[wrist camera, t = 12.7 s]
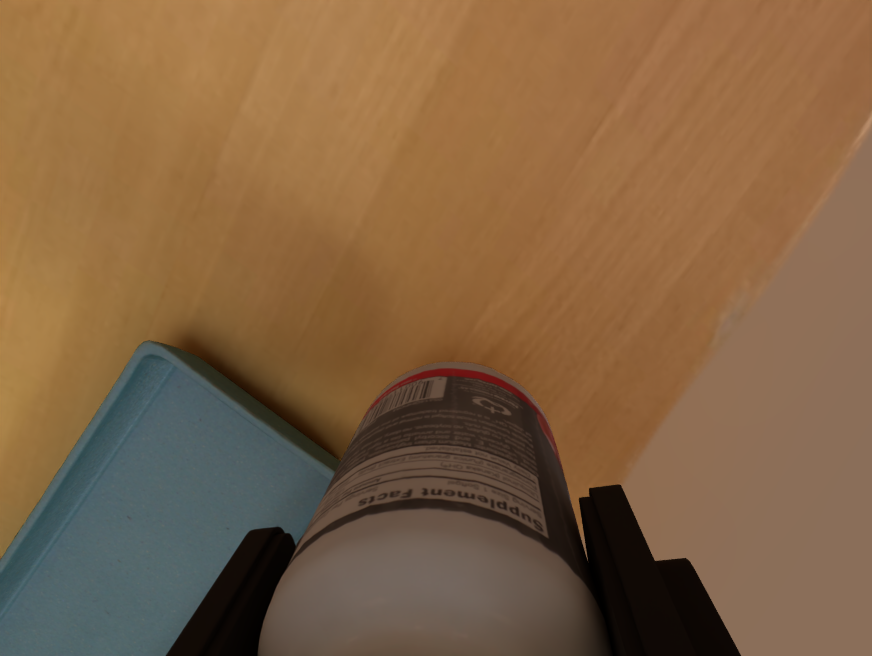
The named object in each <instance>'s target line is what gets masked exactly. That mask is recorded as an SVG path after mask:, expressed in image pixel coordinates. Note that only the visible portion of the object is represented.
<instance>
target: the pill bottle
mask: <svg viewBox="0 0 872 656" xmlns="http://www.w3.org/2000/svg"><path fill="white" fill-rule="evenodd" d="M257 656H613V653H612V648H611V643H610V637H609V632H608V627H607V622H606V618H605V615H604V612H603V610H602V607H601V604H600V600H599V597H598V593H597V590H596V587H595V584H594V581H593V578H592V574H591V571H590V567H589V564H588V561H587V557H586V554H585V551H584V547H583V544H582V540H581V537H580V533H579V529H578V525H577V522H576V518H575V514H574V511H573V508H572V504H571V500H570V496H569V492H568V487H567V483H566V480H565V477H564V473H563V469H562V465H561V461H560V457H559V453H558V450H557V447H556V443H555V440H554V437H553V434H552V431H551V428H550V425H549V422H548V420H547V418H546V416H545V414H544V412H543V410H542V409H541V407H540V406H539V404H538V403H537V402H536V401H535V399H534V398H533V397H532V395H531V394H530V393H529V392H528V391H527V390H526V389H524V388H523V387H522V386H521V385H520V384H518V383H517V382H515V381H514V380H512V379H511V378H509V377H507V376H506V375H504V374H501V373H499V372H497V371H496V370H494V369H492V368H489V367H486V366H483V365H479V364H475V363H466V362H438V363H432V364H427V365H424V366H421V367H419V368H416V369H413V370H411V371H409V372H407V373H405V374H403V375H401V376H399V377H398V378H397V379H395V380H394V381H393V382H392V383H390V384H389V385H388V386H387V387H386V388H384V389H383V390H382V392H381V393H380V394H379V395H378V396H377V397H376V399H375V400H374V401H373V403H372V404H371V406H370V407H369V409H368V411H367V412H366V414H365V416H364V418H363V420H362V421H361V423H360V425H359V427H358V429H357V430H356V432H355V434H354V436H353V438H352V440H351V443H350V445H349V446H348V448H347V450H346V452H345V454H344V456H343V458H342V460H341V462H340V464H339V466H338V468H337V470H336V472H335V474H334V476H333V478H332V480H331V482H330V484H329V486H328V488H327V490H326V492H325V494H324V496H323V498H322V500H321V502H320V504H319V506H318V507H317V509H316V511H315V513H314V516H313V517H312V519H311V521H310V523H309V525H308V527H307V529H306V531H305V533H304V534H303V535H302V537H301V538H300V539H299V541H298V543H297V545H296V548H295V551H294V554H293V557H292V559H291V561H290V562H289V564H288V566H287V568H286V570H285V572H284V574H283V575H282V577H281V579H280V581H279V583H278V585H277V587H276V589H275V592H274V595H273V597H272V600H271V603H270V605H269V607H268V610H267V613H266V616H265V619H264V622H263V626H262V630H261V634H260V639H259V646H258V655H257Z"/></svg>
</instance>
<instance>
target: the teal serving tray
mask: <svg viewBox="0 0 872 656" xmlns="http://www.w3.org/2000/svg"><path fill="white" fill-rule="evenodd" d="M340 462H341V461H339V460H338V459H336V458H335V457H334V456H332V455H331V454H330V453H328V452H327V451H325V450H324V449H323V448H321V447H320V446H318V445H317V444H316V443H314V442H313V441H312V440H310V439H309V438H308V437H306V436H305V435H304V434H302V433H301V432H300V431H298V430H297V429H295V428H294V427H293V426H291V425H290V424H289V423H287V422H286V421H285V420H283V419H282V418H281V417H279V416H278V415H277V414H275V413H274V412H272V411H271V410H270V409H268V408H267V407H266V406H264V405H263V404H262V403H260V402H259V401H258V400H256V399H255V398H253V397H252V396H251V395H249V394H248V393H247V392H245V391H244V390H243V389H241V388H240V387H239V386H237V385H236V384H235V383H233V382H232V381H230V380H229V379H228V378H226V377H225V376H224V375H222V374H221V373H220V372H218V371H217V370H216V369H214V368H213V367H211V366H210V365H209V364H207V363H206V362H205V361H203V360H202V359H201V358H199V357H197V356H196V355H193V354H191V353H188V352H186V351H183V350H181V349H178V348H176V347H173V346H169V345H166V344H162V343H159V342H154V341H150V340H148V341H145V342H143V343H142V344H141V345H139V346H138V348H137V349H136V351H135V352H134V354H133V355H132V357H131V359H130V360H129V362H128V363H127V365H126V367H125V368H124V370H123V372H122V373H121V375H120V376H119V378H118V380H117V381H116V383H115V384H114V386H113V387H112V389H111V390H110V392H109V394H108V395H107V397H106V398H105V400H104V401H103V403H102V404H101V406H100V408H99V409H98V411H97V412H96V414H95V416H94V417H93V419H92V420H91V422H90V423H89V425H88V426H87V428H86V429H85V431H84V432H83V434H82V435H81V437H80V438H79V440H78V441H77V443H76V444H75V446H74V447H73V449H72V450H71V452H70V453H69V455H68V457H67V458H66V460H65V462H64V463H63V465H62V466H61V468H60V469H59V470H58V472H57V473H56V475H55V476H54V478H53V480H52V481H51V483H50V485H49V486H48V488H47V489H46V491H45V493H44V494H43V496H42V498H41V499H40V501H39V502H38V504H37V505H36V506H35V508H34V509H33V511H32V512H31V514H30V515H29V517H28V518H27V520H26V522H25V523H24V525H23V526H22V528H21V529H20V531H19V532H18V533H17V535H16V536H15V538H14V540H13V541H12V543H11V544H10V546H9V547H8V549H7V550H6V552H5V554H4V555H3V557H2V558H1V559H0V656H166V654H167V653H168V651H169V650H170V648H171V647H172V645H173V644H174V642H175V641H176V639H177V638H178V636H179V635H180V633H181V632H182V630H183V629H184V627H185V626H186V624H187V623H188V621H189V620H190V618H191V617H192V615H193V614H194V612H195V611H196V609H197V608H198V606H199V605H200V603H201V602H202V600H203V599H204V597H205V596H206V594H207V593H208V591H209V590H210V588H211V587H212V585H213V584H214V582H215V581H216V579H217V578H218V576H219V575H220V573H221V572H222V570H223V569H224V567H225V566H226V564H227V563H228V561H229V560H230V558H231V557H232V555H233V554H234V552H235V551H236V549H237V548H238V546H239V545H240V543H241V542H242V540H243V539H244V537H245V536H246V534H247V533H248V532H249V531H250V530H253V529H261V528H269V527H277V526H278V527H281V528H282V529H283V530H284V532H285V533H290V534H291V535H292V537H293V539H294V542H295V545H297V543H298V541H299V539H300V538H301V537H302V535H303V534H304V533H305V531H306V529H307V527H308V525H309V523H310V521H311V519H312V517H313V516H314V513H315V511H316V509H317V507H318V506H319V504H320V502H321V500H322V498H323V496H324V494H325V492H326V490H327V488H328V486H329V484H330V482H331V480H332V478H333V476H334V474H335V472H336V470H337V468H338V466H339V464H340Z"/></svg>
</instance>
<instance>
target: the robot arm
mask: <svg viewBox="0 0 872 656" xmlns="http://www.w3.org/2000/svg"><path fill="white" fill-rule="evenodd" d="M589 496H590V497H582V498H579V504H580V511H581V517H582V524H583V530H584V537H585V543H586V550H587V557H588V564H589V567H590V571H591V574H592V578H593V581H594V584H595V587H596V590H597V593H598V597H599V600H600V604H601V607H602V610H603V612H604V615H605V618H606V622H607V627H608V632H609V637H610V643H611V648H612V653H613V656H741V655H740V653H739V651H738V649H737V647H736V645H735V643H734V642H733V640H732V638H731V636H730V634H729V632H728V630H727V629H726V627H725V625H724V623H723V621H722V619H721V618H720V616H719V614H718V612H717V610H716V608H715V606H714V604H713V603H712V601H711V599H710V597H709V595H708V593H707V591H706V590H705V588H704V586H703V584H702V582H701V580H700V579H699V577H698V575H697V573H696V571H695V569H694V567H693V566H692V564H691V563H690V561H689V560H688V559H686V558H682V559H671V560H662V561H654V558H653V556H652V554H651V552H650V549H649V547H648V545H647V543H646V540H645V538H644V536H643V534H642V531H641V529H640V527H639V525H638V522H637V520H636V518H635V516H634V513H633V511H632V509H631V507H630V505H629V502H628V500H627V498H626V495H625V493H624V491H623V489H622V487H621V485H611V486H603V487H594V488H589ZM295 548H296V545H295V542H294V539H293V537H292V535H291V534H290V533H285V532H284V530H283V529H282V528H281V527H278V526H277V527H269V528H261V529H253V530H250V531H249V532H248V533H247V534H246V536H245V537H244V539H243V540H242V542H241V543H240V545H239V546H238V548H237V549H236V551H235V552H234V554H233V555H232V557H231V558H230V560H229V561H228V563H227V564H226V566H225V567H224V569H223V570H222V572H221V573H220V575H219V576H218V578H217V579H216V581H215V582H214V584H213V585H212V587H211V588H210V590H209V591H208V593H207V594H206V596H205V597H204V599H203V600H202V602H201V603H200V605H199V606H198V608H197V609H196V611H195V612H194V614H193V615H192V617H191V618H190V620H189V621H188V623H187V624H186V626H185V627H184V629H183V630H182V632H181V633H180V635H179V636H178V638H177V639H176V641H175V642H174V644H173V645H172V647H171V648H170V650H169V651H168V653H167V654H166V656H257V655H258V646H259V639H260V634H261V630H262V626H263V622H264V619H265V616H266V613H267V610H268V607H269V605H270V603H271V600H272V597H273V595H274V592H275V589H276V587H277V585H278V583H279V581H280V579H281V577H282V575H283V574H284V572H285V570H286V568H287V566H288V564H289V562H290V561H291V559H292V557H293V554H294V551H295Z"/></svg>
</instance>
